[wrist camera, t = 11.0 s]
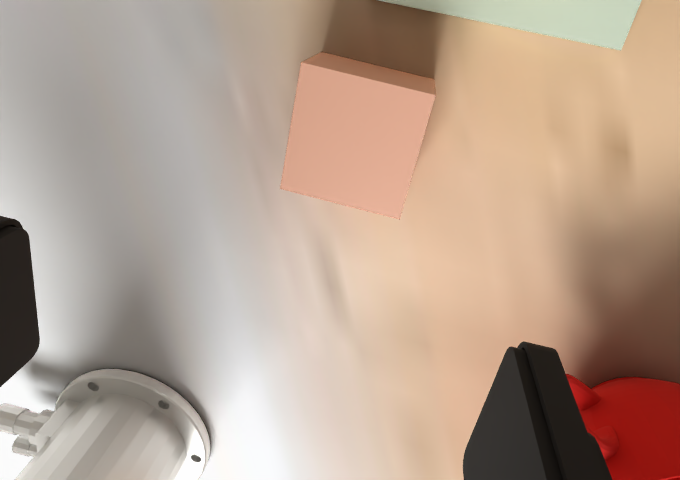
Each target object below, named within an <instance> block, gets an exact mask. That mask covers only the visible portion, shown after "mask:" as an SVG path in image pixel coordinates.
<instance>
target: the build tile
mask: <svg viewBox="0 0 680 480" xmlns="http://www.w3.org/2000/svg"><path fill="white" fill-rule="evenodd" d="M378 1H383V2H388V3H393V4H398V5H403V6H407V7H412V8H417V9H422V10H427V11H432V12H437V13H441V14H446V15H451V16H456V17H461V18H466V19H471V20H475V21H480V22H485V23H490V24H495V25H500V26H505V27H509V28H514V29H519V30H524V31H529V32H534V33H538V34H543V35H548V36H553V37H558V38H563V39H568V40H572V41H577V42H582V43H587V44H592V45H597V46H602V47H606V48H611V49H616V50H621V49H622V47H623V44H624V42H625V40H626V37H627V35H628V32H629V30H630V27H631V25H632V22H633V20H634V18H635V15H636V13H637V10H638V8H639V5H640V3H641V0H378Z"/></svg>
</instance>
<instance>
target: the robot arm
mask: <svg viewBox="0 0 680 480" xmlns="http://www.w3.org/2000/svg"><path fill="white" fill-rule="evenodd" d="M39 341H40V338H39V328H38V319H37V309H36V300H35V290H34V280H33V271H32V261H31V252H30V242H29V236H28V233H27V232H26V231H25V230H24V229H23V227H22V225H21V224H20V222H19V221H17V220H15V219H11V218H7V217H3V216H0V387H1V386H2V385H3V384H4V383H5V382H6V381H7V380H9V379H10V378H11V377H12V376H13V375H14V374H15V373H16V372H17V371H18V370H20V369H21V368H22V367H23V366H24V365H25V364H26V363H27V362H28V361H29V360H30V359H31V358H32V357H33V356H34V355H35V353H36V352H37V349H38V347H39ZM0 431H2V432H6V433H9V434H13V435H17V434H19V436H18V437H17V438H16V440H15V441H14V444H13V446H12V451H13V452H14V453H18V454H21V455H25V456H33V459H32V460H31V461H30V462H29V463H28V465H27V466H26V467H25V468H24V469H23V470H22V472H21V473H20V474H19V475H18V476H17V477H16V479H15V480H198V479H199V478H200V476H201V475H202V473H203V471H204V469H205V467H206V465H207V462H208V460H209V455H210V440H209V436H208V433H207V430H206V427H205V425H204V423H203V421H202V420H201V418H200V416H199V414H198V413H197V412H196V411H195V410H194V408H193V407H192V406H191V405H190V404H189V403H188V402H187V401H186V400H185V399H184V398H183V397H182V396H181V395H180V394H178V393H177V392H176V391H174V390H173V389H171V388H170V387H168V386H167V385H165V384H163V383H161V382H159V381H157V380H155V379H153V378H151V377H149V376H146V375H143V374H140V373H137V372H132V371H127V370H121V369H101V370H95V371H91V372H88V373H86V374H83V375H80V376H79V377H78V378H76V379H75V380H73V381H72V382H71V383H70V384H69V385H68V386H67V387H66V388H65V390H64V391H63V392H62V393H61V394H60V396H59V398H58V399H57V401H56V404H55V409H54V411H51V410H43V411H42V412H41V413H36V412H33V411H30V410H29V409H26V408H22V407H18V406H15V405H11V404H7V403H4V404H2V405H0ZM463 474H464V480H612V477H611V474H610V472H609V469H608V467H607V464H606V462H605V459H604V457H603V454H602V451H601V449H600V446H599V444H598V442H597V441H596V439H595V437H594V436H593V435H591V434H590V433H588V432H587V430H586V427H585V424H584V422H583V419H582V416H581V414H580V411H579V408H578V406H577V403H576V401H575V398H574V395H573V393H572V390H571V387H570V385H569V382H568V379H567V377H566V374H565V371H564V369H563V366H562V363H561V361H560V358H559V355H558V353H557V351H556V350H555V349H553V348H549V347H545V346H540V345H536V344H532V343H528V342H521V343H520V345H519V346H518V348H515V347H509V348H508V349H507V351H506V353H505V355H504V358H503V360H502V363H501V365H500V367H499V370H498V372H497V375H496V377H495V379H494V382H493V384H492V387H491V389H490V391H489V394H488V396H487V399H486V401H485V403H484V406H483V408H482V411H481V413H480V415H479V418H478V420H477V423H476V425H475V427H474V430H473V432H472V435H471V437H470V439H469V442H468V444H467V447H466V450H465V454H464V459H463Z"/></svg>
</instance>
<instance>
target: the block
mask: <svg viewBox="0 0 680 480" xmlns="http://www.w3.org/2000/svg"><path fill="white" fill-rule="evenodd" d="M435 96H436V92H435V82H434V79H431V78H427V77H423V76H419V75H415V74H410V73H406V72H402V71H398V70H394V69H390V68H386V67H382V66H378V65H373V64H369V63H365V62H361V61H357V60H353V59H349V58H345V57H341V56H336V55H332V54H328V53H324V52H321V53H319V54H317V55H315V56H313V57H311V58H309V59H307V60H305V61H303V62H301V66H300V72H299V78H298V84H297V90H296V96H295V102H294V108H293V114H292V120H291V126H290V132H289V138H288V144H287V150H286V156H285V162H284V168H283V174H282V180H281V186H280V189H283V190H287V191H291V192H295V193H299V194H302V195H306V196H310V197H314V198H318V199H322V200H326V201H330V202H334V203H337V204H341V205H345V206H349V207H353V208H357V209H361V210H365V211H369V212H373V213H376V214H380V215H384V216H388V217H392V218H396V219H400V217H401V213H402V210H403V206H404V203H405V200H406V196H407V193H408V189H409V186H410V182H411V179H412V176H413V172H414V169H415V165H416V162H417V158H418V155H419V151H420V148H421V145H422V141H423V138H424V134H425V131H426V127H427V124H428V120H429V117H430V114H431V110H432V107H433V103H434V100H435Z"/></svg>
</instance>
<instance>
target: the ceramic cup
mask: <svg viewBox="0 0 680 480" xmlns="http://www.w3.org/2000/svg"><path fill="white" fill-rule="evenodd" d="M566 377H567V379H568V382H569V385H570V387H571V390H572V393H573V395H574V398H575V401H576V403H577V406H578V408H579V411H580V414H581V416H582V419H583V422H584V424H585V427H586V430H587V432H588V433H590V434H591V435H593V436H594V437H595V439H596V441H597V442H598V444H599V446H600V449H601V451H602V454H603V457H604V459H605V462H606V464H607V467H608V469H609V472H610V474H611V477H612V480H680V384H678V383H675V382H669V381H663V380H657V379H647V378H641V377H624V378H616V379H612V380H609V381H605V382H603V383H601V384H599V385H596V386H595V387H593V388H592V389H590V388H589V387H588V386H586V385H585V384H584V383H582V382H581V381H579V380H578V379H576V378H575V377H573V376H571V375H569V374H566Z"/></svg>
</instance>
